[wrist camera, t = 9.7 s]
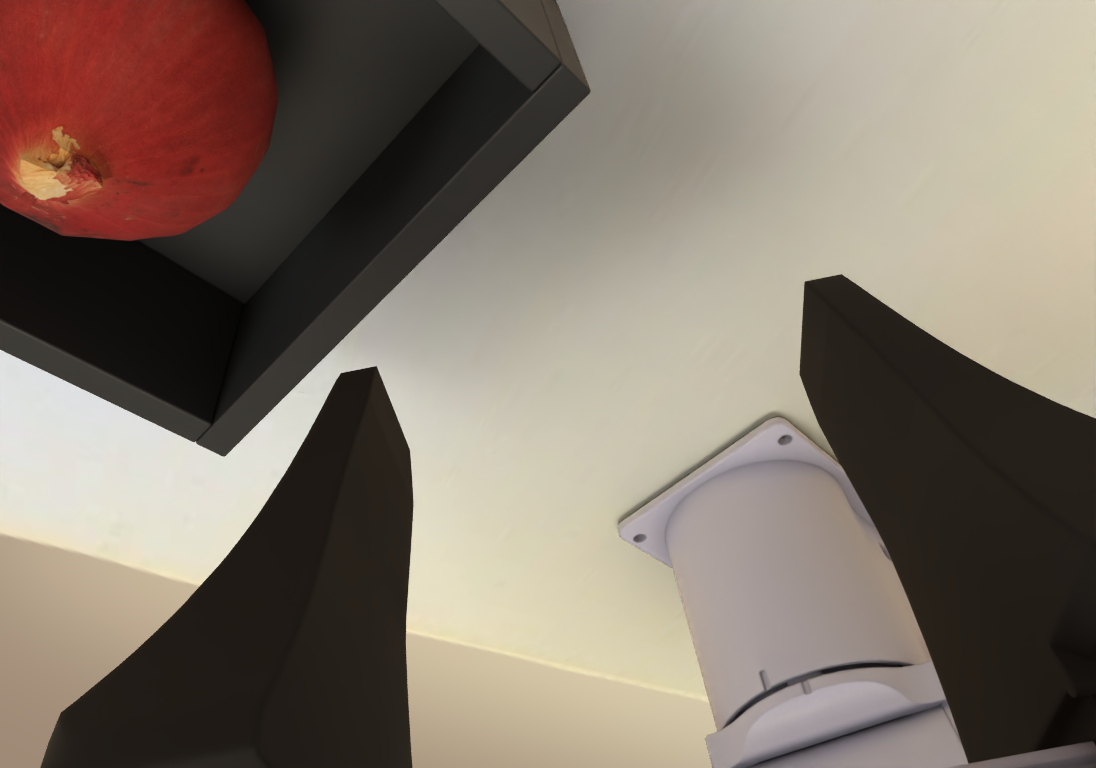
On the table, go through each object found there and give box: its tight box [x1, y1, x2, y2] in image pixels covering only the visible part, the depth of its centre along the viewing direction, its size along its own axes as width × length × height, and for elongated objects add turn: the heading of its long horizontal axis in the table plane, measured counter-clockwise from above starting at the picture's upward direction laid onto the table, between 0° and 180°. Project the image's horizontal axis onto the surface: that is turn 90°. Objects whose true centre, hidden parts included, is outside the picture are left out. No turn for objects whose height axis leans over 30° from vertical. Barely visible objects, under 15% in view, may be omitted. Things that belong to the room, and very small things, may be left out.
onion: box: [0, 0, 278, 241], centre depth 16 cm, size 6×6×8 cm
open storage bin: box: [0, 0, 590, 456], centre depth 17 cm, size 13×13×6 cm
